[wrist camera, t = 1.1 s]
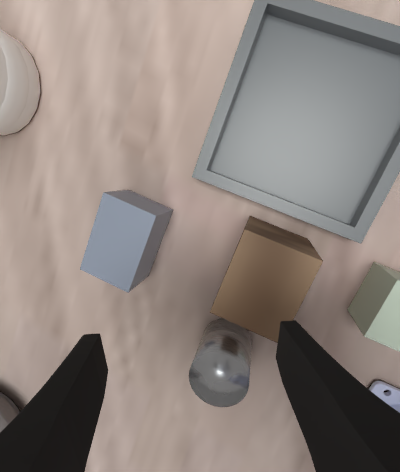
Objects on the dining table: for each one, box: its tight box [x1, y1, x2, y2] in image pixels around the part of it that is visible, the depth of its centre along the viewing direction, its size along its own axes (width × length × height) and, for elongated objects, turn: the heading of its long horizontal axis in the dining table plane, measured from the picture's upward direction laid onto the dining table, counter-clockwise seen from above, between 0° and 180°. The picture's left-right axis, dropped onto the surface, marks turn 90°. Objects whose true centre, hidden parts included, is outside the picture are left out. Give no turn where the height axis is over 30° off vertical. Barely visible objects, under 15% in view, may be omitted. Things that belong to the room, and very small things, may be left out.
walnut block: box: [210, 216, 323, 343], centre depth 20 cm, size 4×6×6 cm
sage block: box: [347, 262, 400, 352], centre depth 20 cm, size 4×4×4 cm
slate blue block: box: [80, 190, 173, 293], centre depth 23 cm, size 4×6×4 cm, turn 158°
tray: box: [192, 0, 400, 243], centre depth 20 cm, size 12×12×2 cm
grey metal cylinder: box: [189, 318, 252, 407], centre depth 22 cm, size 4×4×5 cm
